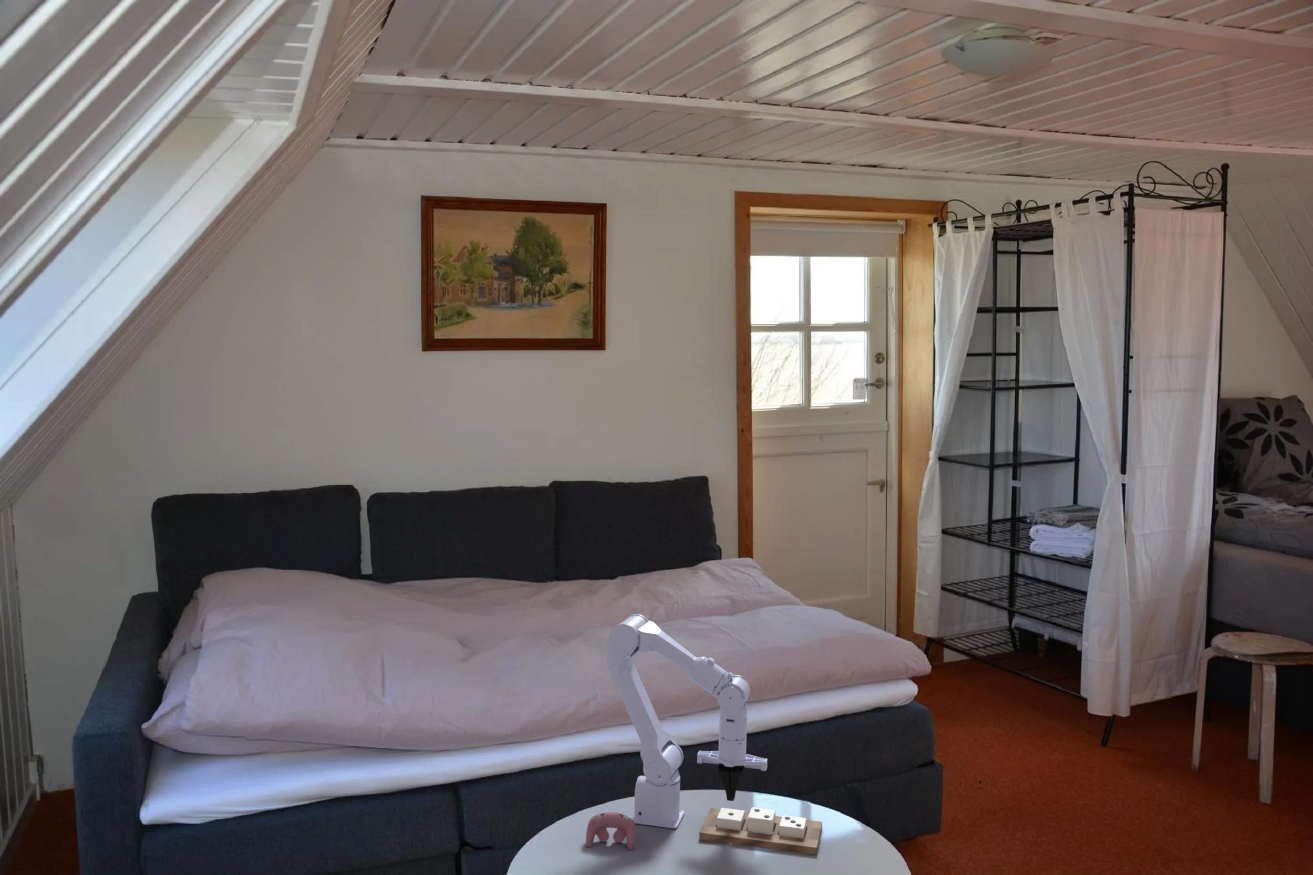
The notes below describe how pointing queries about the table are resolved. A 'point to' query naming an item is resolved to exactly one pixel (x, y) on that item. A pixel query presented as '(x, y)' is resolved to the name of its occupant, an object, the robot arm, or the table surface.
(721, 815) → the one dot tile
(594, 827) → the video game controller
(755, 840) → the tile board
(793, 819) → the three dot tile
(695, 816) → the table surface
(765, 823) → the two dot tile
